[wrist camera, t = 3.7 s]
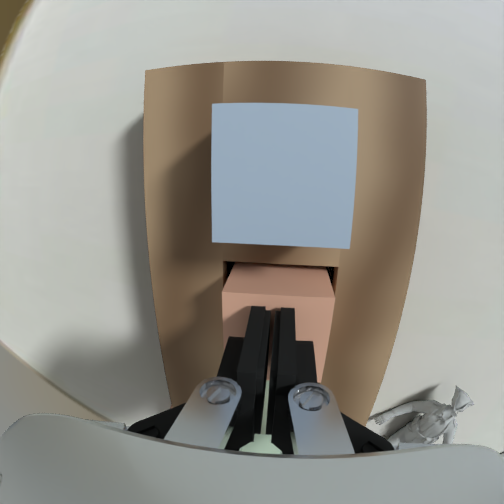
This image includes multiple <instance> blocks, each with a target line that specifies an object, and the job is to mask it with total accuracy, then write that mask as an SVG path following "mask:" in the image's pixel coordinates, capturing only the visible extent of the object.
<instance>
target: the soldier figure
mask: <svg viewBox="0 0 504 504" xmlns="http://www.w3.org/2000/svg"><path fill="white" fill-rule="evenodd" d="M472 405H474V403H473V401H472V400H471V399H470V397H469V395H468V394H467V393H466V392H464V391H463V390H461V389H460V388H458V387H457V386H456V389H455V393H454V396H453V398H452V406H451V405H446V404H441V403H439V402H437V401H435V400H429V401H428V400H426V401H412V402H409V403H406V404H403V405H400V406H398V407H396V408H394V409H392V410H391V411H389V412H385V413H383V414H381V415H380V416H378V417H377V418H375V419H374V420H376V419H378V418H379V419H378V420H376V421H375V422H377V421H378V422H377V423H376V424H378V423H380V422H381V423H380V424H379V425H381V424H382V423H384V422H386V421H387V420H389V419H390V418H392V417H393V416H398V415H402V414H405V413H410V412H413V411H416V412H421V413H425V414H423V415H422V416H420V415H419V416H417V417H415V418H414V419H413V422H409V423H408V424H407V425H406V426H405V427H403V428H402V429H400V430H399V431H397V432H396V433H395V434H394V435H392V436H391V437H390V438H389V439H388V440H387V441H389V442H390V443H391V444H392V445H396V446H397V445H398V444H399V443H405V442H406V443H415V444H432V443H434V442H435V441H436V440H438V439H439V436H440V435H442V434H443V433H444V435H443V437H444V440H443V443H442V444H452V443H453V439H454V435H455V432H456V428H457V425H458V424H457V422H456V419H455V416H457V414H456V413H455V411H457V413H458V411H459V412H462V411H464V410H465V409H466V408H467V407H469V406H472ZM380 417H381V418H380ZM381 419H382V420H381ZM379 420H380V421H379ZM382 421H383V422H382Z"/></svg>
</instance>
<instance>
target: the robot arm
mask: <svg viewBox="0 0 504 504" xmlns="http://www.w3.org/2000/svg"><path fill="white" fill-rule="evenodd" d="M270 317H271V310H266V306H251V311H250V315H249V320H248V324H247V329H246V333H245V337H233V336H229V337H228V340H227V344H226V347H225V350H224V353H223V357H222V360H221V363H220V367H219V370H218V373H217V377H211V378H208V379H205V380H203V381H202V382H200V383H199V384H198V385H197V386H196V388H195V389H194V391H193V393H192V394H191V396H190V398H189V399H188V401H187V402H186V403H183V404H181V405H179V406H176V407H174V408H171V409H169V410H167V411H164V412H162V413H159V414H157V415H154V416H151V417H149V418H146V419H144V420H141V421H138V422H136V423H134V424H132V425H131V426H130V427H129V426H126V425H125V423H117V422H106V421H96V420H88V419H81V418H77V417H72V416H68V415H60V414H47V413H37V414H29V415H27V416H23V417H22V418H20V419H18V420H17V421H16V422H14V423H13V424H12V425H11V426H10V427H9V428H8V429H7V430H6V431H5V432H4V433H3V434H2V435H1V436H0V504H504V453H502V454H499V453H498V452H497V451H495V450H493V449H491V448H488V447H485V446H480V445H471V444H415V443H399V444H398V445H397V446H396V445H392V444H391V443H390V442H389V441H387V440H386V439H385V438H383V437H381V436H379V435H378V434H376V433H374V432H373V431H371V430H369V429H368V428H366V427H364V426H363V425H361V424H359V423H358V422H356V421H355V420H353V419H351V418H350V417H348V416H346V415H345V414H343V413H342V412H340V410H339V407H338V404H337V401H336V399H335V396H334V394H333V392H332V391H331V390H330V389H329V388H328V387H326V386H324V385H322V384H318V382H317V372H316V362H315V353H314V344H313V341H298V340H296V330H295V308H284V307H281V311H275V319H274V332H273V344H272V356H271V368H270V380H269V395H268V408H267V421H266V434H265V435H271V443H272V444H274V445H275V446H276V447H277V448H278V449H280V454H267V453H254V452H243V451H242V447H243V446H245V445H247V444H248V443H250V442H254V435H255V434H261V426H262V417H263V408H264V399H265V389H266V380H267V369H268V354H269V336H270Z"/></svg>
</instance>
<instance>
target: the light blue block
mask: <svg viewBox="0 0 504 504" xmlns="http://www.w3.org/2000/svg"><path fill="white" fill-rule="evenodd" d="M357 143H358V109H354V108H345V107H335V106H323V105H309V104H289V103H217V104H212V146H211V195H212V242H219V243H240V244H261V245H282V246H302V247H321V248H340V249H350V241H351V231H352V221H353V210H354V198H355V183H356V166H357Z"/></svg>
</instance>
